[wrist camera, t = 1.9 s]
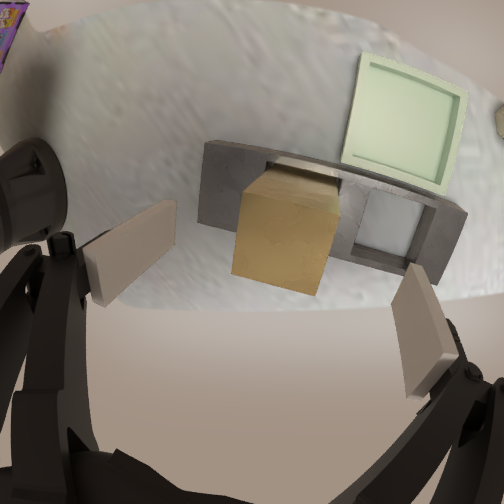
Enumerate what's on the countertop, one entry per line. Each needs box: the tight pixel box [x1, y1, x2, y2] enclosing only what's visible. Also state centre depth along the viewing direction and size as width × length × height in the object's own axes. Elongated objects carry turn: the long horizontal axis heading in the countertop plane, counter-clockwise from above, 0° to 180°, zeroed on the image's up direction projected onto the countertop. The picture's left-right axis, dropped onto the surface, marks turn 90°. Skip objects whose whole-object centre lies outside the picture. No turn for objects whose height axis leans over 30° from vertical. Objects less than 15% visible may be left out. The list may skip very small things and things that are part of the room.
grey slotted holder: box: [197, 140, 468, 285], centre depth 22 cm, size 22×7×2 cm, turn 81°
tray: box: [340, 51, 469, 197], centre depth 18 cm, size 9×9×2 cm
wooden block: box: [231, 163, 340, 296], centre depth 19 cm, size 5×5×10 cm
